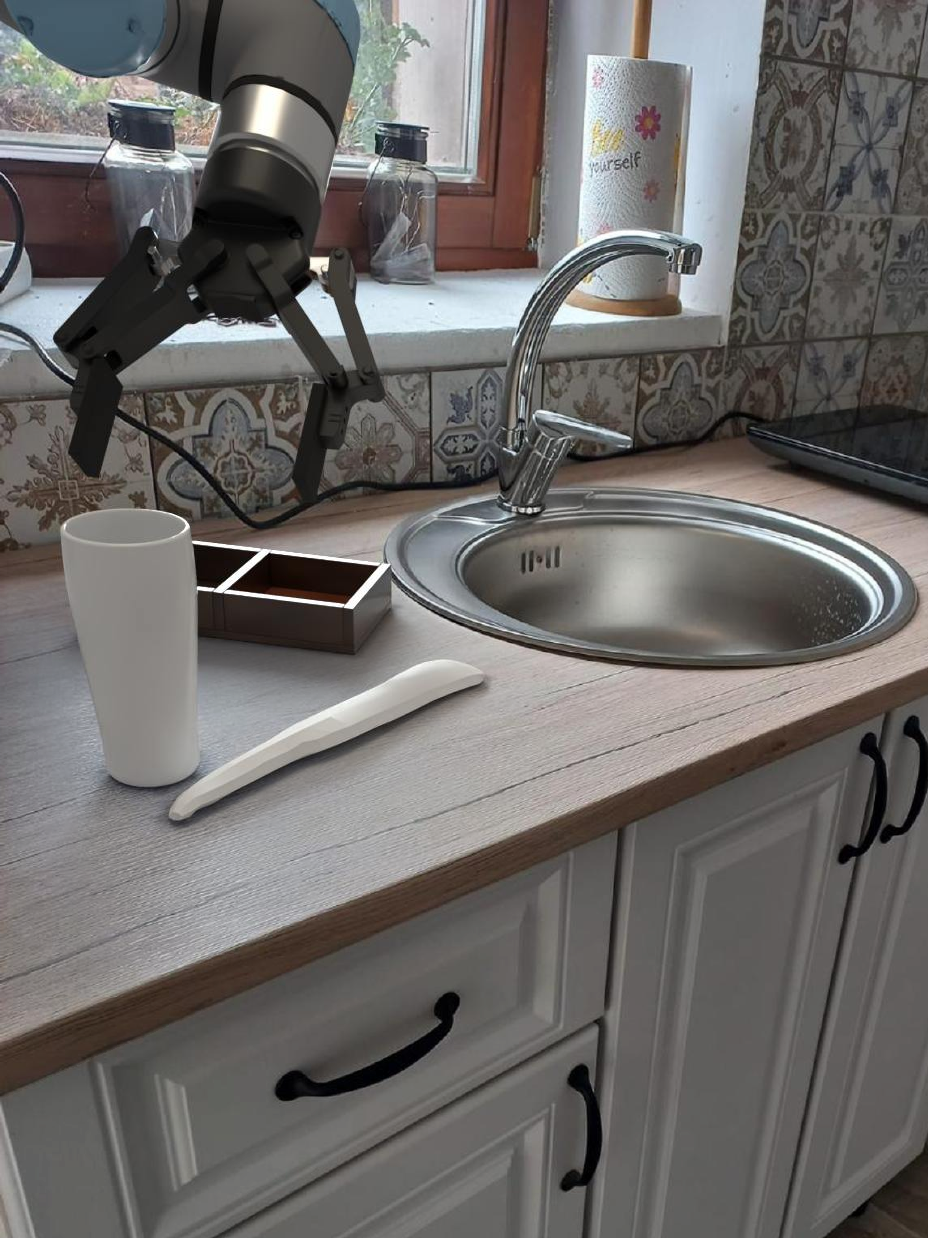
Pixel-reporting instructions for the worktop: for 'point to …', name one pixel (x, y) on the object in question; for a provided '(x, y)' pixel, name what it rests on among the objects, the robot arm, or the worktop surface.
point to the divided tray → (289, 597)
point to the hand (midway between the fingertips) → (193, 478)
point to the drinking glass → (137, 638)
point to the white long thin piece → (331, 729)
